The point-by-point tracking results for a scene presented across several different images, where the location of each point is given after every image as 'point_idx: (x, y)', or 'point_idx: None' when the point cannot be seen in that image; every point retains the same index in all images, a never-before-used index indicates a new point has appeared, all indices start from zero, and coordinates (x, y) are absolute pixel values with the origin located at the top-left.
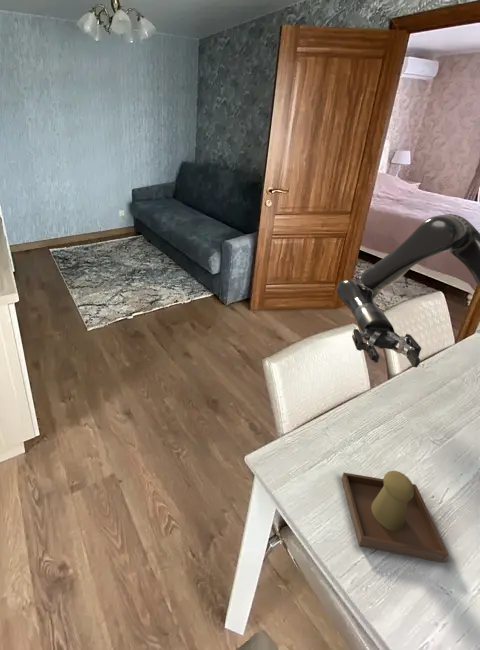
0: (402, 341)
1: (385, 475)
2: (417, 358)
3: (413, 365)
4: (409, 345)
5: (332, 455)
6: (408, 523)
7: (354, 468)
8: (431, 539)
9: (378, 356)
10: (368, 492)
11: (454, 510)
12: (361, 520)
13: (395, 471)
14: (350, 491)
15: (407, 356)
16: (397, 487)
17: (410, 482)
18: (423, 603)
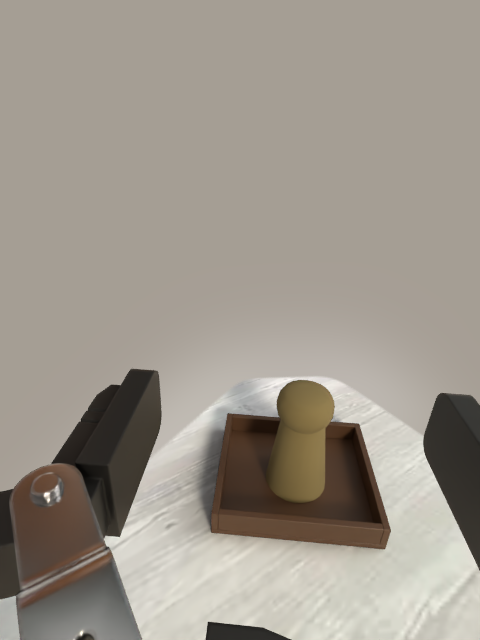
0: (79, 581)
1: (331, 409)
2: (129, 377)
3: (158, 421)
4: (17, 542)
5: (414, 630)
6: (259, 467)
7: (347, 586)
8: (230, 448)
9: (445, 394)
10: (324, 516)
11: (142, 500)
12: (348, 466)
13: (311, 405)
14: (374, 488)
15: (120, 518)
16: (317, 383)
17: (286, 390)
18: None
